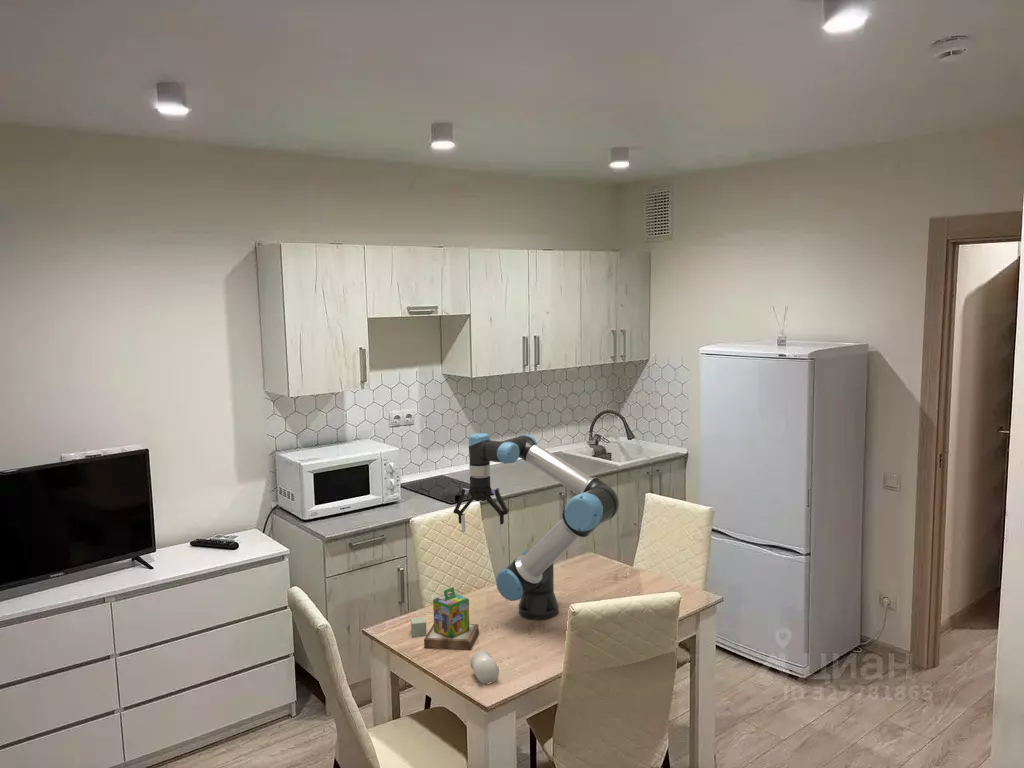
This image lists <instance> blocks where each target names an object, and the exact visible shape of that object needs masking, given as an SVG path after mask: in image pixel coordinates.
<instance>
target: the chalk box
mask: <svg viewBox="0 0 1024 768" xmlns="http://www.w3.org/2000/svg"><path fill="white" fill-rule="evenodd" d="M443 594H444V595H442V596H438V597H436V598H434V599H432V603H433V604H432V605H433V606H432V608H433V624H434V632H437V633H439V634H442V635H445V636H447V637H450V638H453V637H455V636H457V635H459V634H462V633H464V632H466V631H469V624H470V599H469V598H468V597H465V596H463V595H460V594H456V592H455V588H454V587H453V586H452V587H449V588H447V589H445V590H444V591H443Z"/></svg>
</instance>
